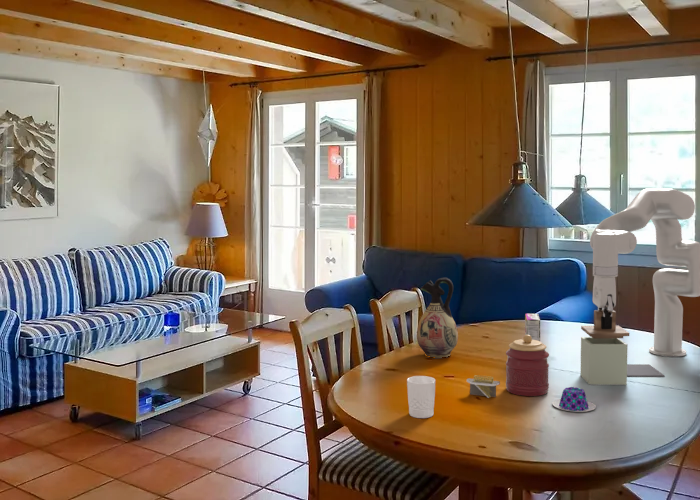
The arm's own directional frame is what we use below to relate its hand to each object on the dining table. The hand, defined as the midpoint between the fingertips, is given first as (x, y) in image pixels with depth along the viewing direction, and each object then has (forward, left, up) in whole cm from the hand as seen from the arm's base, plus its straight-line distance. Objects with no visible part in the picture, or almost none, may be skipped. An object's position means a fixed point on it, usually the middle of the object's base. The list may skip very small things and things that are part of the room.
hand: (604, 327), depth 223 cm
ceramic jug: (-31, -51, -18) cm, 62 cm away
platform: (+18, -41, -18) cm, 49 cm away
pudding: (+27, -16, -18) cm, 37 cm away
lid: (0, 0, -2) cm, 2 cm away
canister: (+13, -27, -18) cm, 35 cm away
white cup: (+35, -60, -18) cm, 72 cm away
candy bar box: (-24, -18, -18) cm, 35 cm away
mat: (-11, +14, -17) cm, 25 cm away
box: (0, 0, -17) cm, 17 cm away
